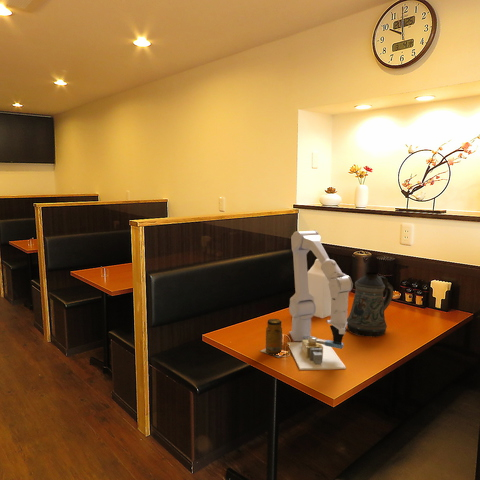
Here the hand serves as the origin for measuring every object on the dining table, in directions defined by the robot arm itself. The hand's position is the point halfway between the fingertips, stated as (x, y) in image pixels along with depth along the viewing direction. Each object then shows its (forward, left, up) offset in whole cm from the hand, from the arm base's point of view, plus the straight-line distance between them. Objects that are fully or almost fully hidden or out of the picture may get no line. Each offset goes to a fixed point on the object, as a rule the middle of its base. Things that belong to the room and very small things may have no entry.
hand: (337, 345), depth 148 cm
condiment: (-7, -21, -5) cm, 23 cm away
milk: (-51, +8, -5) cm, 52 cm away
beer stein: (-28, +23, -5) cm, 36 cm away
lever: (0, -4, 0) cm, 4 cm away
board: (-3, -7, -5) cm, 9 cm away
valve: (-3, -8, -5) cm, 10 cm away
